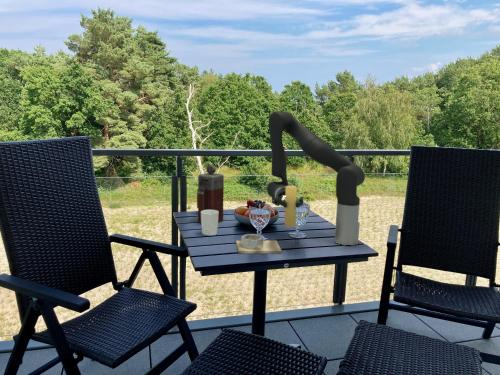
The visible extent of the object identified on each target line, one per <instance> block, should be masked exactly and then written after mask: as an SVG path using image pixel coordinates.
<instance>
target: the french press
mask: <svg viewBox="0 0 500 375" xmlns="http://www.w3.org/2000/svg"><path fill="white" fill-rule="evenodd" d="M205 169H206V172H207V173H201V174H198V177H197V179H198V180H197V182H198V183H197V185H198V186H197V192H196V208H197V222H198V223H201V211H203V210H217V211H218V212H219V215H218V224H219V223H221V222H223V221H224V196H225V195H224V191H225V190H224V189H225V188H224V187H225V182H224V180H225V179H224V178H225V176H224V174H220V173H216V171H217V168H216V166H215V165H214V164H208V165H207V166H206V168H205Z"/></svg>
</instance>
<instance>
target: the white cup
mask: <svg viewBox="0 0 500 375" xmlns="http://www.w3.org/2000/svg"><path fill="white" fill-rule="evenodd" d="M218 215H219V212H218V211H217V210H203V211H201V222H200V223H201V224H200V225H201V234H202V235H204V236H216V235H217V234H218V227H219V223H218Z"/></svg>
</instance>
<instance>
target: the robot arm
mask: <svg viewBox="0 0 500 375" xmlns="http://www.w3.org/2000/svg"><path fill="white" fill-rule="evenodd" d="M268 130H269V132H268V133H269V139H270V148H271V170H270V171H271V176H272V177H277V178H279V179H281V181H270V182H268V184H267V185H266V186H267V187H266V192H267V195H268V196H269V197H271V204H273V205H275V206H276V207H280V206H281V207H283V208H284V209H285V208H287V202H286V201H285V196H286V186H290V184H289V181H288V177H287V165H288V162H287V160H288V158H287V153H286V150H285V147H284V144H283V143H284V142H283V133H286V134H288V135H289V136H291V137H292V138H293V139H294V140H295V141H296V142H297V144H298V146H299V147H300V150H302V151H303V153H305V154H306V155H307V156H308V157H309V158H310V159H311V160H313V161H315V162H316V163H319V164H321V165H323V166H326V167H328V168H330V169H332V170H334V171H335V172H336V173H337V174H336V177H335V178H336V180H335V182H336V183H335V197H336V198H337V199H336V202H337V203H336V213H335V214H336V215H335V226H334V227H335V228H334V243H335V242H336V243H335V244H337V243H338V244H337V245H340V244H342V245H341V246H346V245H351V246H355V245H359V237H360V236H359V235H360V226H361V222H360V221H359V214H360V213H359V212H360V202H361V199H360V196H358V195H357V192H358V191H357V190H358V189H357V188H358V186H360V185H362V184H363V183H364V182H365V179H366V176H365V172H364V170H363V169H362V167H360V166H359V165H358V164H356V163H354V162H353V161H351V160H349V159H348V158H346V156H345V157H344V155H341V153H340V152H338V151H337V150H336V149H334V148H333V147H332V146H331V145H329V143H327V142H326V141H324V139H322V138H321V137H320V136H319V135H317V134H315V133H314V132H312V131H311V130H310V129H309V128H307V127H306V126H304V125H303V124H302V123H301V122H300V121H299V120H298V119H297V118H296V117H295V116H294V115H293V114H292V113H290V112H288V111H284V110H283V111H282V110H279V111H275V110H274V111H273V112H272V113H270V114H269V117H268ZM304 198H305V197H304V196H299V198H298V196H297V197H296V209H299V208H300V207H301V206H303V204H304Z"/></svg>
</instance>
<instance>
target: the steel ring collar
mask: <svg viewBox="0 0 500 375" xmlns="http://www.w3.org/2000/svg"><path fill="white" fill-rule="evenodd" d="M263 240H264V237H263V235H261V234H256V233H246V234H243V235H241V238H240V241H241V245H242V247H243V248H246V249H259V248H262V247H263Z"/></svg>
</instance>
